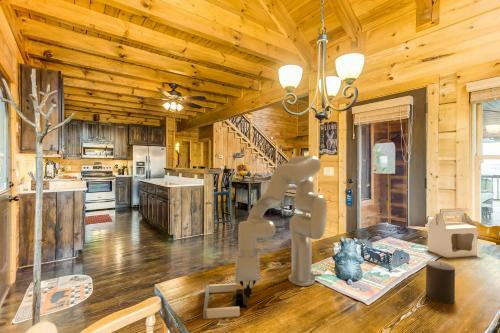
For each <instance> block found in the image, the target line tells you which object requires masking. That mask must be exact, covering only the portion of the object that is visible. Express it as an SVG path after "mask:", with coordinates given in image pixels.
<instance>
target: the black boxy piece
mask: <svg viewBox="0 0 500 333" xmlns="http://www.w3.org/2000/svg"><path fill="white" fill-rule="evenodd" d="M247 301H248V300H247V298H246V295H244V288H236V291H235V294H233V295H232V306H231V307H236V306H239V308H240V309H247V308H248V306H247V304H248V302H247Z"/></svg>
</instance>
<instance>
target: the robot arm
mask: <svg viewBox="0 0 500 333" xmlns="http://www.w3.org/2000/svg"><path fill="white" fill-rule="evenodd" d="M321 163H322V162H321V160H320V158H319V157H318V156H316V155H296V156H292V157H290V158H289V159H288V160H287V163H286V164H285V163H281V164H279V165H277V166H275V168H274V170H273V172H272V175H271V177H270V180H269V183H268V186H267V187H266V190H265V193H264V194H263V195H262V196H261V197H260V198H259V199H258V200H257V201H256V202H255V203H254V204H253V206H252V207H251V209H250V211H249V213H248V217H247V219H246V220H243V221H240V222H239V223H238V227H237V228H238V230H237V231H238V235H237V236H238V237H237V239H238V240H237V241H238V248H237V249H238V253H237V254H236V257H235V266H234V283H236V285H237V284H238V285H239V284H240V286H242V287H243V295H246V299H250V298H251V296H252V292H253V291H252V288H253V286H255V284H257V283H260V282H261V266H260V257H259V253H260V252H261V248H258V247H257V246H258V243H257V242H258V240H259V239H260V240H261V239H270V238H272V237H273V236H274V235H275V233H276V225H275V223H274V222H273V221H271V220H268V219H265V218H263V217H264V215H265V213H266V211H268V210H269V209H270V208H272V207H274V206H276V205H279V204H280V203H282V202H283V201H284V199H285V196H286V193H287V190H288V188H289V186H290V184H292V185H293V184H296V186H295V188H296V189H295V197H294V208H295V209H296V211H298V212H301V213H305V214H310V216H309V215H305V214H295V215H293V216H292V217H290V220H289V232H290V238H291V273H290V274H289V275H288V281H289V283H291V284H293V285H296V286H299V287H300V286H301V287H308V286H312V285H314V284H315V282H316V279H315V278H316V277H317V278H318V277H322V276H323V275H322V272H320V271H317V270H312V269H313V268H312V263H313V261H312V251H313V250H312V248H313V246H312V245H313V243H312V241H311V239H312V240H320V239H322V238H323V236H324V235H325V231H326V224H327V215H328V214H327V213H328V203H327V199H326V198H325V197H324V195H322V194H318V193H315V181H314V178H313V177H314V176H315V175H316V174H318V172H320V169H321V166H322V164H321ZM247 282H248V284H247Z"/></svg>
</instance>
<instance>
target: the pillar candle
mask: <svg viewBox="0 0 500 333" xmlns="http://www.w3.org/2000/svg"><path fill="white" fill-rule="evenodd" d="M425 267H426V269H425V270H426V271H425V277H426V278H425V295H426V296H427V297H428V298H430V299H431V300H433V301H435V302H438V303H443V304H453V303H455V298H456V296H455V293H456V291H455V290H456V289H455V288H456V285H455V284H456V281H455V280H456V272H455V271H456V268H455V266H454V265H451V264H450V263H446V262H442V261H436V260H428V261H426V266H425Z"/></svg>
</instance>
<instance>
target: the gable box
mask: <svg viewBox="0 0 500 333" xmlns="http://www.w3.org/2000/svg"><path fill="white" fill-rule="evenodd" d="M444 217H458V219H457V221H447V222H446V221H445V220H444ZM427 251H429V252H431V253H434V254H436V255H439V256H441V257H444V258H458V257H461V258H462V257H463V258H464V257H475V256H478V227H477V225H476V224H475V222H473V220H472V218H470V216H469V215H468V214H467V213H466V210H464V209H463V208H459V207H458V208H441V209H440V210H439V213H437V214H435V215H434V216H433V217H432V219H430V220H429V222H428V223H427Z"/></svg>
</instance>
